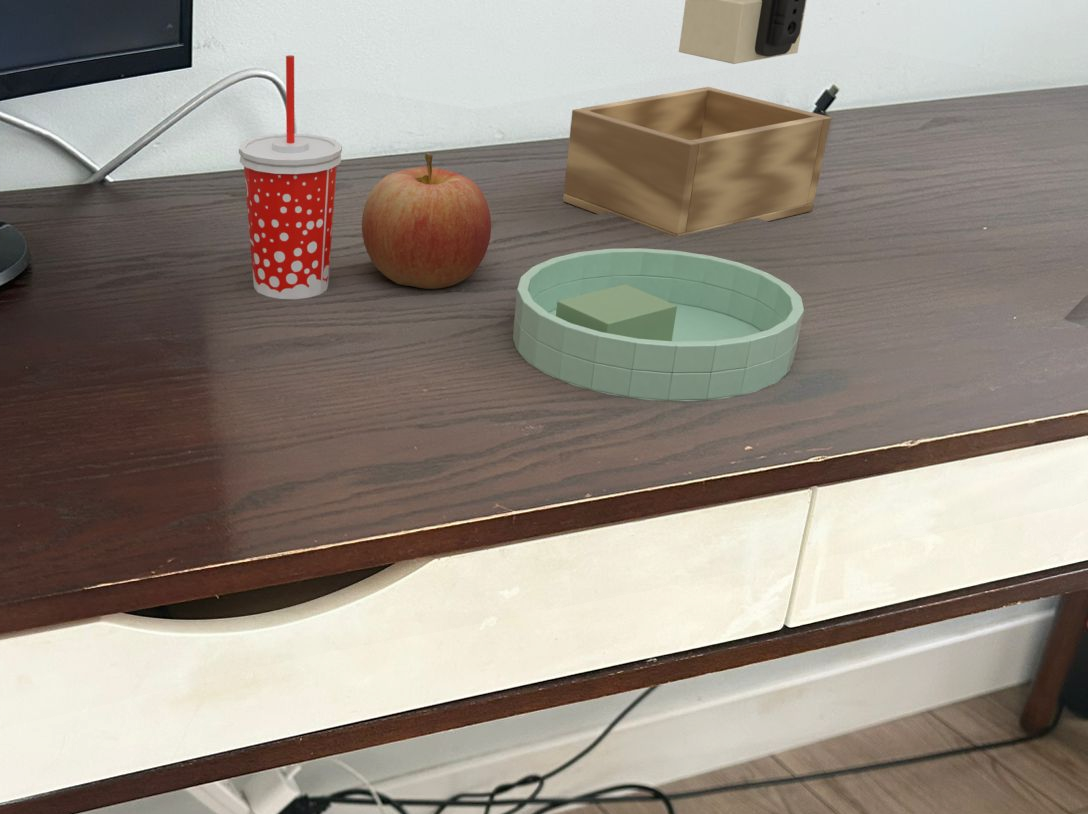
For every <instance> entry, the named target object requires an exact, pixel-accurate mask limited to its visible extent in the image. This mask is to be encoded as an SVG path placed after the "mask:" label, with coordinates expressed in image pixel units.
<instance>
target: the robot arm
mask: <svg viewBox="0 0 1088 814" xmlns="http://www.w3.org/2000/svg"><path fill="white" fill-rule="evenodd" d="M761 1H762V6H761V12H760V18H759V24H758V30H757V37H756V43H755V52H756V54H758V55H762V56H767V57H770V56H775V55H781V54H785V53H787V52H788V51H789V50H790V48H791V46H792V44H794V43H795V42H796V40H797V38H798V36H799V34H800V30H801V24H802V23H801V21H802V18H803V13H804V7H805V1H806V0H761ZM805 8H806V7H805ZM804 14H805V13H804ZM802 25H803V24H802ZM801 31H802V30H801Z"/></svg>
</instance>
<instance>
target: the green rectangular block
mask: <svg viewBox="0 0 1088 814" xmlns="http://www.w3.org/2000/svg"><path fill="white" fill-rule="evenodd" d="M676 310H677V305H675V304H672V303H670V302H667V301H665V300H662V299H660V298H658V297H655V296H653V295H650V294H648V293H646V292H643V291H641V290H638V289H636V288H633V287H631V286H629V285H626V284H625V285H621V286H617V287H612V288H608V289H604V290H600V291H596V292H592V293H588V294H584V295H580V296H576V297H572V298H568V299H564V300H560V301H557V310H556V316H557V317H559V318H561V319H563V320H565V321H567V322H570V323H572V324H576V325H579V326H582V327H586V328H589V329H593V330H596V331H599V332H604V333H609V334H615V335H621V336H626V337H632V338H637V339H648V340H660V341H672V337H673V330H674V324H675V317H676Z"/></svg>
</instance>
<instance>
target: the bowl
mask: <svg viewBox="0 0 1088 814" xmlns="http://www.w3.org/2000/svg"><path fill="white" fill-rule="evenodd" d="M625 284H626V285H629V286H631V287H633V288H636V289H638V290H641V291H643V292H646V293H648V294H650V295H653V296H655V297H658V298H660V299H662V300H665V301H667V302H670V303H672V304H675V305H677V310H676V317H675V324H674V330H673V337H672V341H660V340H648V339H637V338H632V337H626V336H621V335H615V334H609V333H604V332H599V331H596V330H593V329H589V328H586V327H582V326H579V325H576V324H572V323H570V322H567V321H565V320H563V319H561V318H559V317H557V316H556V310H557V301H560V300H564V299H568V298H572V297H576V296H580V295H584V294H588V293H592V292H596V291H600V290H604V289H608V288H612V287H617V286H621V285H625ZM804 312H805V308H804V304H803V299H802V296H801V295H800V294H799V293H798V292H797V291H796V290H795V289H794V288H793V287H792V286H791V285H790V284H789V283H787V282H785V281H783V280H781V279H780V278H778V277H776V276H775V275H772V274H771V273H768V272H766V271H764V270H762V269H759V268H755V267H753V266H750V265H747V264H744V263H741V262H738V261H734V260H730V259H726V258H721V257H717V256H714V255H709V254H701V253H694V252H688V251H687V252H686V251H681V250H673V249H672V250H671V249H660V248H659V249H657V248H643V247H642V248H641V247H639V248H638V247H637V248H634V247H633V248H630V247H629V248H603V249H594V250H586V251H577V252H572V253H568V254H564V255H561V256H555V257H552V258H549V259H547V260H545V261H542V262H540V263H538V264H536V265H533V266H531V268H529V269H528V270H527V271H526V272H525V273H523V274H522V275H521V276H520V278H519V281H518V284H517V288H516V295H515V309H514V319H513V332H512V340H513V343H514V347H515V349H516V350H517V352H518V354H519V355H520V356H521V357H522V358H523V359H524V360H525V362H527V363H528V364H530V365H531V366H532V367H534V368H535V369H536V370H539V371H540V372H542V373H543V374H545V375H547V376H550V377H552V378H554V379H556V380H559V381H561V382H564V383H566V384H569V385H572V386H575V387H578V388H581V389H585V390H588V391H592V392H593V391H594V392H596V393H597V392H598V393H602V394H606V395H611V396H617V397H623V398H630V399H636V400H637V399H639V400H647V401H660V402H661V401H662V402H703V401H712V400H713V401H714V400H721V399H722V400H723V399H729V398H734V397H741V396H744V395H747V394H751V393H755V392H758V391H761V390H763V389H766V388H768V387H770V386H773V385H774V384H776V383H777V382H779V381H780V380H781V379H783V378H785V376H787V374H788V372H789V371H790V369H791V367H792V365H793V364H794V361H795V358H796V357H795V356H796V351H797V346H798V342H799V336H800V334H801V333H800V332H801V328H802V322H803V319H804V318H803V317H804Z"/></svg>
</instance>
